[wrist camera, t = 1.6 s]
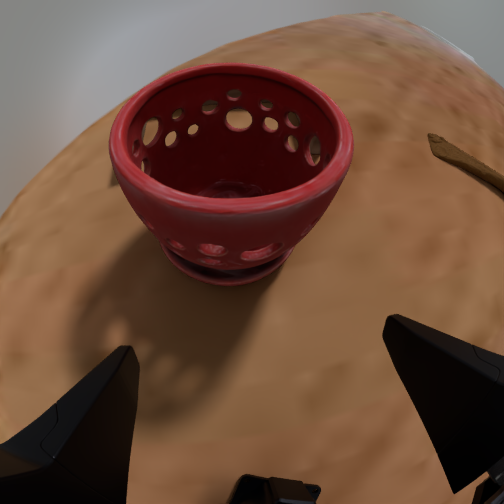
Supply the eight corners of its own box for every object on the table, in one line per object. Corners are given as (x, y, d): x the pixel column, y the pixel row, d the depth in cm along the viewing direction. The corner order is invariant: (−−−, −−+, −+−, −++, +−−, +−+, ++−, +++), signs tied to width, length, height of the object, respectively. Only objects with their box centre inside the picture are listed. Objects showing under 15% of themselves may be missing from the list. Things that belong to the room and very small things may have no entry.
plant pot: (309, 300, 21) (383, 230, 10) (143, 289, 20) (65, 211, 9) (302, 169, 26) (334, 68, 15) (172, 162, 25) (149, 59, 14)
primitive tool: (431, 156, 30) (443, 140, 27) (424, 133, 32) (435, 118, 29) (507, 202, 29) (518, 192, 26) (499, 179, 31) (509, 168, 28)
